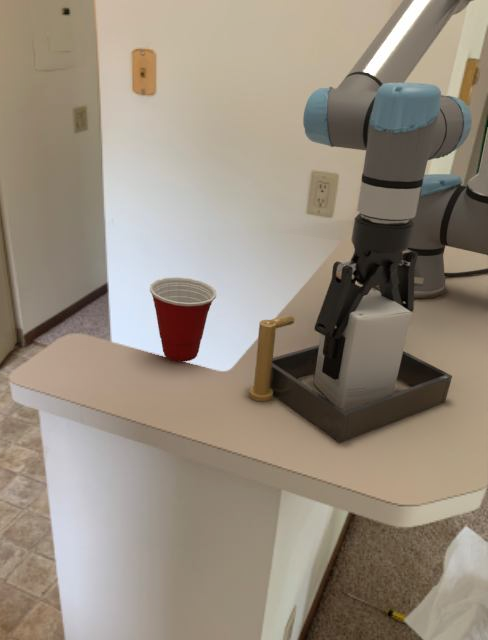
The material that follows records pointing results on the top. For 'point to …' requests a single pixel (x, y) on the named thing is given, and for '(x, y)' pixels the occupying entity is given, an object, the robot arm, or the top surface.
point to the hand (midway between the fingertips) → (356, 366)
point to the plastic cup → (181, 315)
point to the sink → (327, 416)
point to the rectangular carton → (367, 353)
